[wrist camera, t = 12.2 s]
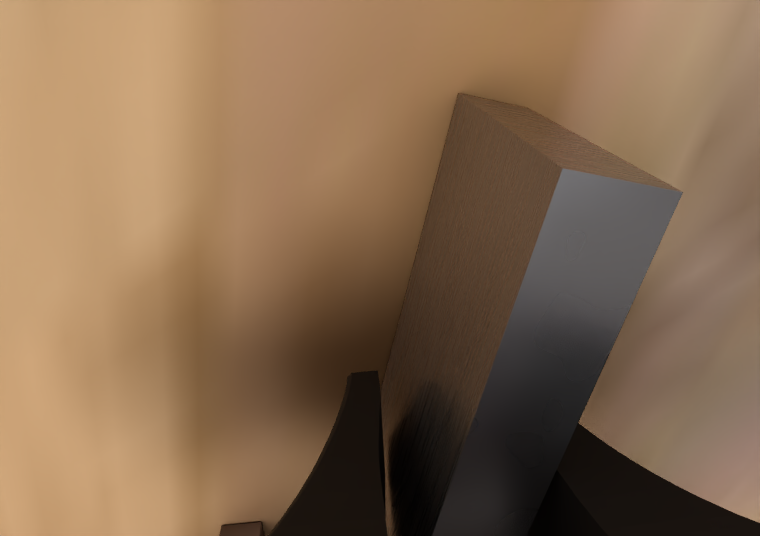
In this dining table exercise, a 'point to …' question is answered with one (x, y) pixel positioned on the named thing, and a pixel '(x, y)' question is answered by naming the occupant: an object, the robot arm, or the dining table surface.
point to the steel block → (509, 317)
